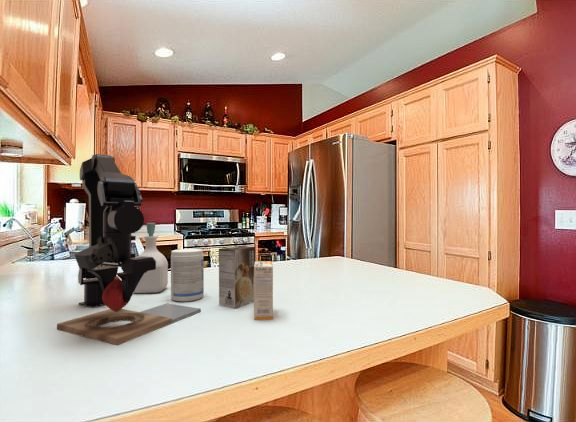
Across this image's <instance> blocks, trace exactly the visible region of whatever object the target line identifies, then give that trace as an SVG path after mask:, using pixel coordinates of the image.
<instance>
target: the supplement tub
mask: <svg viewBox="0 0 576 422" xmlns="http://www.w3.org/2000/svg"><path fill="white" fill-rule="evenodd" d="M170 254H171V255H170V297H171V299H172V300H173V301H175V302H179V303H180V302H182V303H184V302H193V301H197V300H200V299H202V298H203V297H204V293H205V291H204V289H205V287H204V285H205V283H204V277H205V276H204V270H205V269H204V263H205V262H204V250H203V249H202V248H180V249H174V250H171V253H170Z"/></svg>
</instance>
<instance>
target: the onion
mask: <svg viewBox="0 0 576 422" xmlns="http://www.w3.org/2000/svg"><path fill="white" fill-rule="evenodd" d="M102 300H103V303H104V305H105V306H106V307H107V308H108V309H111V310H113V311H114V312H118V311H119V310H121V309H124V308H125V307H126V306H127V305H128V304H129V302H126V303H125V302H124V300H123V291H122V280H121V278H120V277H119V276H118V275H116V276H115V278H114V281H113V282H111V283H110V284H109V285H108V286H107V287H106V288H105V290H104V292H103V295H102Z"/></svg>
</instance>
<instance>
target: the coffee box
mask: <svg viewBox="0 0 576 422" xmlns="http://www.w3.org/2000/svg"><path fill="white" fill-rule="evenodd" d="M255 262H256V247H255V246H243V245H238V246H230V247H222V248H218V306H221V307H226V308H231V309H238V308H240V307H243V306H246V305H248V304H251V303H254V264H255Z"/></svg>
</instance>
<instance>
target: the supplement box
mask: <svg viewBox="0 0 576 422" xmlns="http://www.w3.org/2000/svg"><path fill="white" fill-rule="evenodd" d="M273 298H274V266H273V262H272V261H271V260H270V261H267V260H266V261H265V260H263V261H261V260H260V261H259V260H258V261H256V260H255V264H254V302H253V312H254V313H253V314H254V316H253V317H254V320H255V321H256V320H257V321H259V320H260V321H262V320H265V321H266V320H273V319H274V299H273Z"/></svg>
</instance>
